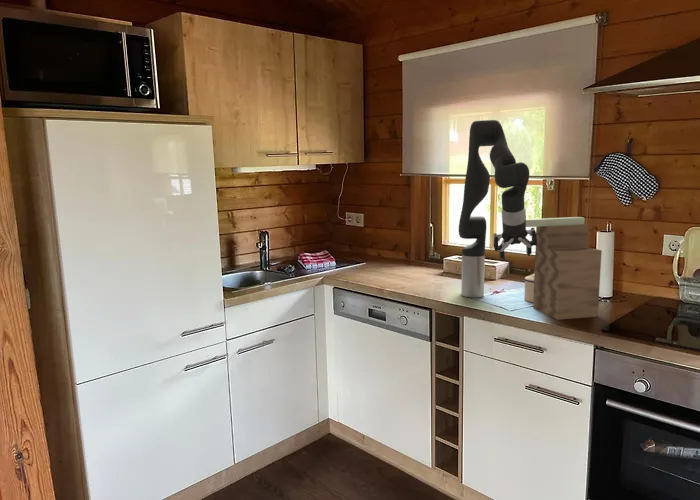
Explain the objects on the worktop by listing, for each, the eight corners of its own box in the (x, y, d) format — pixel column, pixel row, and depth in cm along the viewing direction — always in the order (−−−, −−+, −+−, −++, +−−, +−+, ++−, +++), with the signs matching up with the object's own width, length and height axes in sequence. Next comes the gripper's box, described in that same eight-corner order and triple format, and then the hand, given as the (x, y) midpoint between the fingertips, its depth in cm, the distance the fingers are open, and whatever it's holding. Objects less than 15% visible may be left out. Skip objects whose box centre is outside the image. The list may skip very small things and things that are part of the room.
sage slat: (520, 226, 193) (520, 219, 193) (579, 223, 198) (579, 216, 198) (524, 227, 190) (524, 220, 190) (584, 224, 195) (584, 217, 195)
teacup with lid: (542, 304, 207) (544, 275, 205) (520, 300, 213) (521, 272, 211) (553, 298, 216) (554, 270, 214) (531, 294, 222) (532, 267, 220)
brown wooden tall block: (533, 307, 202) (536, 224, 197) (570, 305, 205) (575, 222, 200) (557, 319, 187) (561, 229, 182) (597, 316, 190) (603, 227, 185)
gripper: (533, 208, 179) (533, 247, 188) (490, 215, 181) (493, 253, 190) (538, 221, 173) (539, 260, 182) (494, 228, 175) (496, 266, 184)
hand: (515, 256), depth 186 cm, fingers open, 8 cm apart
